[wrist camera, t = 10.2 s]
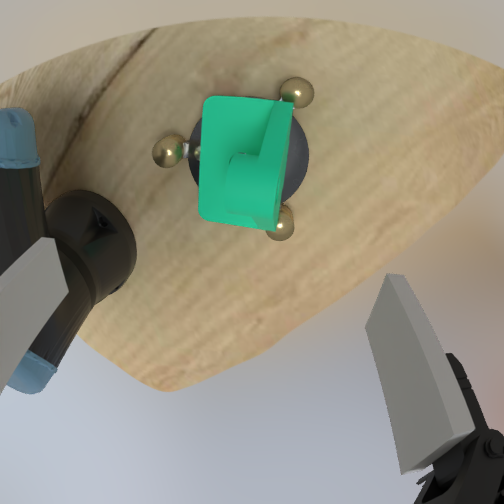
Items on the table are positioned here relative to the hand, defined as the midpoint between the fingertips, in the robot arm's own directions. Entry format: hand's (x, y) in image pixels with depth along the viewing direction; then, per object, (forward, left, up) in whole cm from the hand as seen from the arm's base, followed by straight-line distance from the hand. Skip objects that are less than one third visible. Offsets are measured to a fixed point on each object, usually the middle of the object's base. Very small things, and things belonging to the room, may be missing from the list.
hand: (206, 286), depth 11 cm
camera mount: (0, 0, -20) cm, 20 cm away
